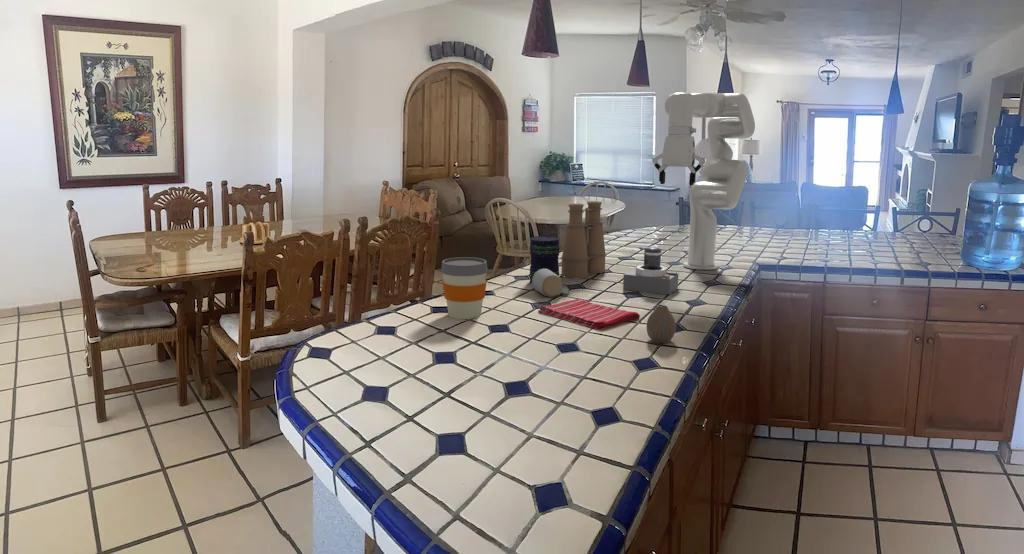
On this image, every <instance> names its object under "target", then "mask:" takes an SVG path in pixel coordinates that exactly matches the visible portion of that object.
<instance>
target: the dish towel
mask: <svg viewBox="0 0 1024 554" xmlns="http://www.w3.org/2000/svg"><path fill="white" fill-rule="evenodd" d="M538 311H539V312H538ZM538 311H537V312H538V313H542V314H544V315H546V316H550V317H554V318H556V319H560V320H564V321H567V322H569V323H572V324H573V323H574V324H578V325H580V326H584V327H588V328H591V329H595V330H604V329H606V328H611V327H614V326H617V325H622V324H625V323H628V322H632V321H635V320H639V319H640V317H641V315H640V314H639V313H638V312H636V311H630V310H629V311H628V310H625V309H619V308H615V307H611V306H607V305H603V304H598V303H593V302H590V301H587V300H585V299H581V298H574V299H571V300H566V301H562V302H559V303H558V302H557V303H555V304H551V305H540V307H539V310H538Z"/></svg>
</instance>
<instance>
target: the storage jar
mask: <svg viewBox="0 0 1024 554" xmlns="http://www.w3.org/2000/svg"><path fill="white" fill-rule="evenodd" d="M529 239H530V242H529V243H530V245H529V255H530V267H529V278H530V279H529V283H530V284H531V283H532V279H533V276H534V274H535V273H536V272H537V271H538V270H540V269H549V270H550V271H552V272H553V273H555V274H556V275H558V276H559V277H560V266H559V256H560V249H561V248H560V237H557V236H551V235H538V236H532V237H530V238H529Z"/></svg>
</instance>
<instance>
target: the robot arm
mask: <svg viewBox="0 0 1024 554" xmlns="http://www.w3.org/2000/svg"><path fill="white" fill-rule="evenodd" d="M664 110H665V113H666V114H667V115H668V128H667V136H665V139H664V143H663V149H662V153H661V154H659V155H656V156H655V157H653V158H652V159H651V161H652V163H653V165H654V167H655V169H657V171H658V172H659V174H658V178H659V179H658V182H659V183H660V185H665V184H666V172H665V171H666V169H667V168H668V167H670V168H671V167H672V168H673V167H674V168H688V169H689V171H690V173H689V182H688V185H689V186H690V188H689V191H688V192H689V193H688V200H689V206H690V209H689V210H690V212H689V213H690V214H689V215H690V217H689V218H690V220H689V233H688V234H689V235H688V250H687V252H688V254H687V261H684V262H683V265H682V266H683V267H684V268H687V269H691V270H700V271H709V270H710V271H711V270H716V269H718V268H719V264H718V263H716V262H715V257H716V256H715V252H716V243H717V241H716V240H717V226H718V221H717V217H716V214H715V212H714V211H713V209H714V210H728V211H729V210H733V209H734V208H735V207H736V206H737V205H738V202H739V201H740V199H741V198H740V197H741V194H742V192H743V189H744V186H745V184H746V181H747V176H748V166H747V165H746V163H745V162H744V161H742V160H739V159H733V156H734V152H733V149H732V147H731V146H730V145H729V143H728V142H727V141H726V140H725V139H742V140H744V139H749V138H751V137H753V135H754V133H755V130H756V122H755V118H754V115H753V111H752V108H751V104H750V101H749V100H748V98H747V96H746V95H745V94H743V93H742V92H732V93H731V92H729V93H728V92H725V93H724V92H723V93H718V92H716V93H715V92H697V93H696V92H692V93H690V92H674V93H672V94H669V95H668V96H667V97H666V99H665V102H664ZM693 118H696V119H697V118H698V119H699V118H701V119H702V118H705V119H706V118H707V119H709V118H710V119H709V121H708V123H707V137H708V142H709V152H708V155H707V158H706V159H704V157H700V156H699V155H697V154H696V144H695V142H696V141H695V136H694V135H693V134H694V133H695V134H696V132H697V128H694V127H693ZM692 135H693V136H692ZM659 160H661V164H662V165H661V164H660V163H659ZM696 161H697V162H698V164H697V165H696V166H695V164H696ZM701 169H702V171H701V179H702V181H697V182H696V174H697V172H698V171H699V170H701Z"/></svg>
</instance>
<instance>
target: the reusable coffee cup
mask: <svg viewBox="0 0 1024 554" xmlns="http://www.w3.org/2000/svg"><path fill="white" fill-rule="evenodd" d="M440 271H441V274H442V278H443V281H442V288H443V295H444V299H445V300H446V307H447V314H448V316H449V317H450V318H451V319H457V320H458V319H459V320H471V319H476V318H480V317H481V315H482V310H483V309H482V308H483V302H484V300H483V299H485V296H486V288H487V280H486V276H487V273H488V262H487V260H486V259H484V258H481V257H470V256H467V257H466V256H464V257H463V256H461V257H459V256H458V257H450V258H445V259H443V260H442V261H441V269H440Z"/></svg>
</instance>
